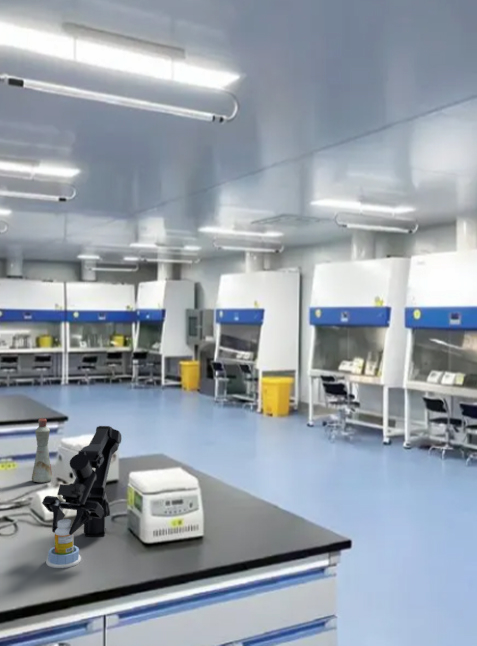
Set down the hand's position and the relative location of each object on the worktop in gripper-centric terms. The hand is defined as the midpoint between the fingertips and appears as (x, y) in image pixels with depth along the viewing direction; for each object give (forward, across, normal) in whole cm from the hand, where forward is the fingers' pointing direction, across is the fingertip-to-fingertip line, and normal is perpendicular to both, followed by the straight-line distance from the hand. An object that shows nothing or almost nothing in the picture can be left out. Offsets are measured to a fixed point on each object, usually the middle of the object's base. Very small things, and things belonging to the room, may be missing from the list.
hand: (61, 533), depth 181 cm
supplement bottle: (+4, 0, +6) cm, 7 cm away
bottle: (-45, -59, +60) cm, 95 cm away
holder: (+6, 0, +7) cm, 9 cm away
